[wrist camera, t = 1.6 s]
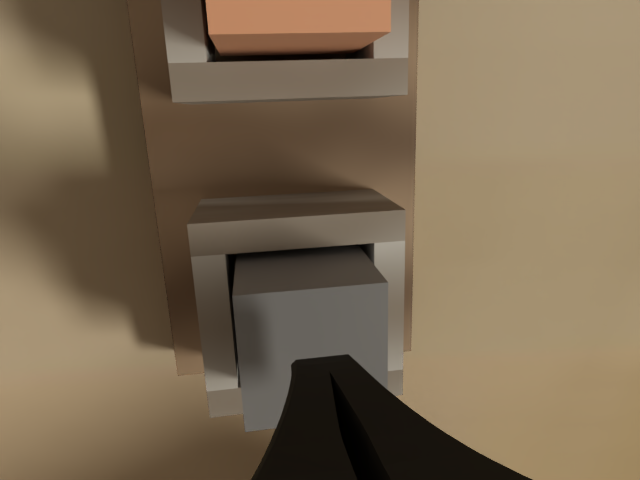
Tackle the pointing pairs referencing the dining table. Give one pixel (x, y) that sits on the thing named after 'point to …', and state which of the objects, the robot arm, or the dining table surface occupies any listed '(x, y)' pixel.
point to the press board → (273, 170)
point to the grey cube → (304, 320)
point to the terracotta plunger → (296, 26)
